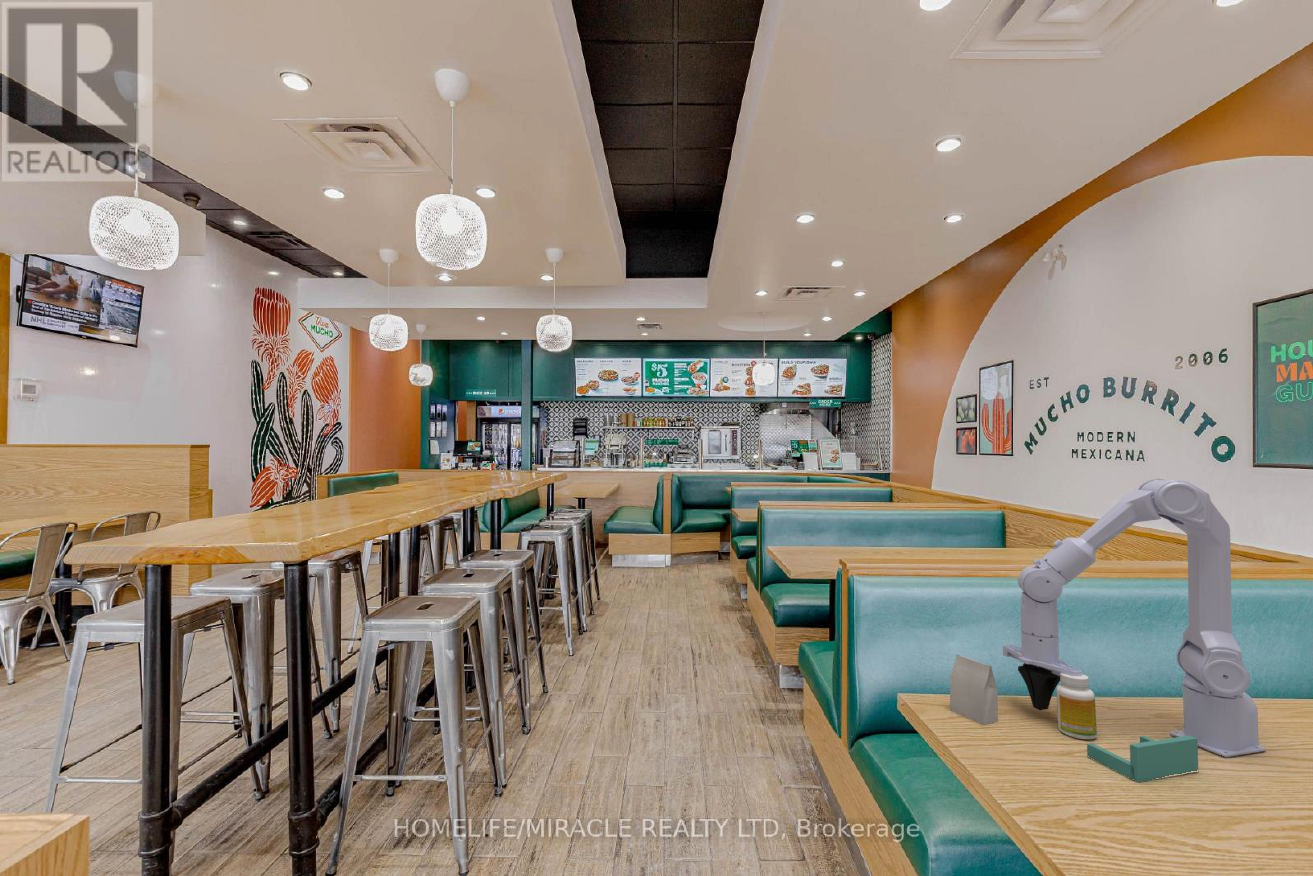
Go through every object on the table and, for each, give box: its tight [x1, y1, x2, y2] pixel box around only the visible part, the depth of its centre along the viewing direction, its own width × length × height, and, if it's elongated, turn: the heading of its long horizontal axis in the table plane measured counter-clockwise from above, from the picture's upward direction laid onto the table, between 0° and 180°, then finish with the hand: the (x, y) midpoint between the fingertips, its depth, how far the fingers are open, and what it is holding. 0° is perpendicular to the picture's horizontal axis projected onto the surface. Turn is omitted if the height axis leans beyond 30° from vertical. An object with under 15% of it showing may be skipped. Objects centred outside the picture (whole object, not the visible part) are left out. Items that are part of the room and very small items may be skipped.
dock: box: [1086, 735, 1199, 783], centre depth 89 cm, size 12×8×5 cm, turn 105°
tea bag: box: [949, 654, 999, 726], centre depth 105 cm, size 4×7×10 cm, turn 25°
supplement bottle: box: [1055, 672, 1098, 740], centre depth 99 cm, size 5×5×10 cm
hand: (1040, 708), depth 105 cm, fingers closed
